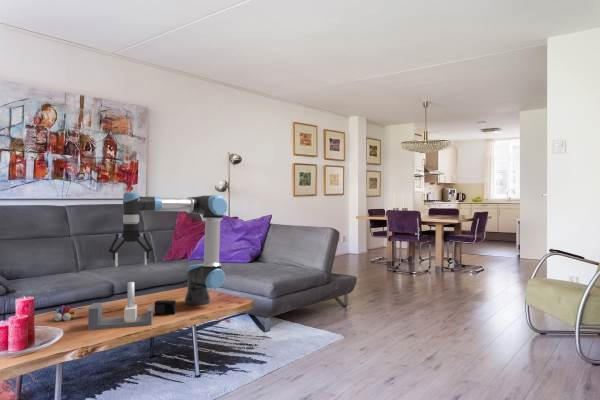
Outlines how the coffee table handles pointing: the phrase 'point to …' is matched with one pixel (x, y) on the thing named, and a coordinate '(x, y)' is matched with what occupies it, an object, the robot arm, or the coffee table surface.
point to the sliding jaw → (130, 305)
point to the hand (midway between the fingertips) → (131, 265)
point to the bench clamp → (115, 319)
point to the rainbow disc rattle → (64, 314)
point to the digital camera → (165, 307)
